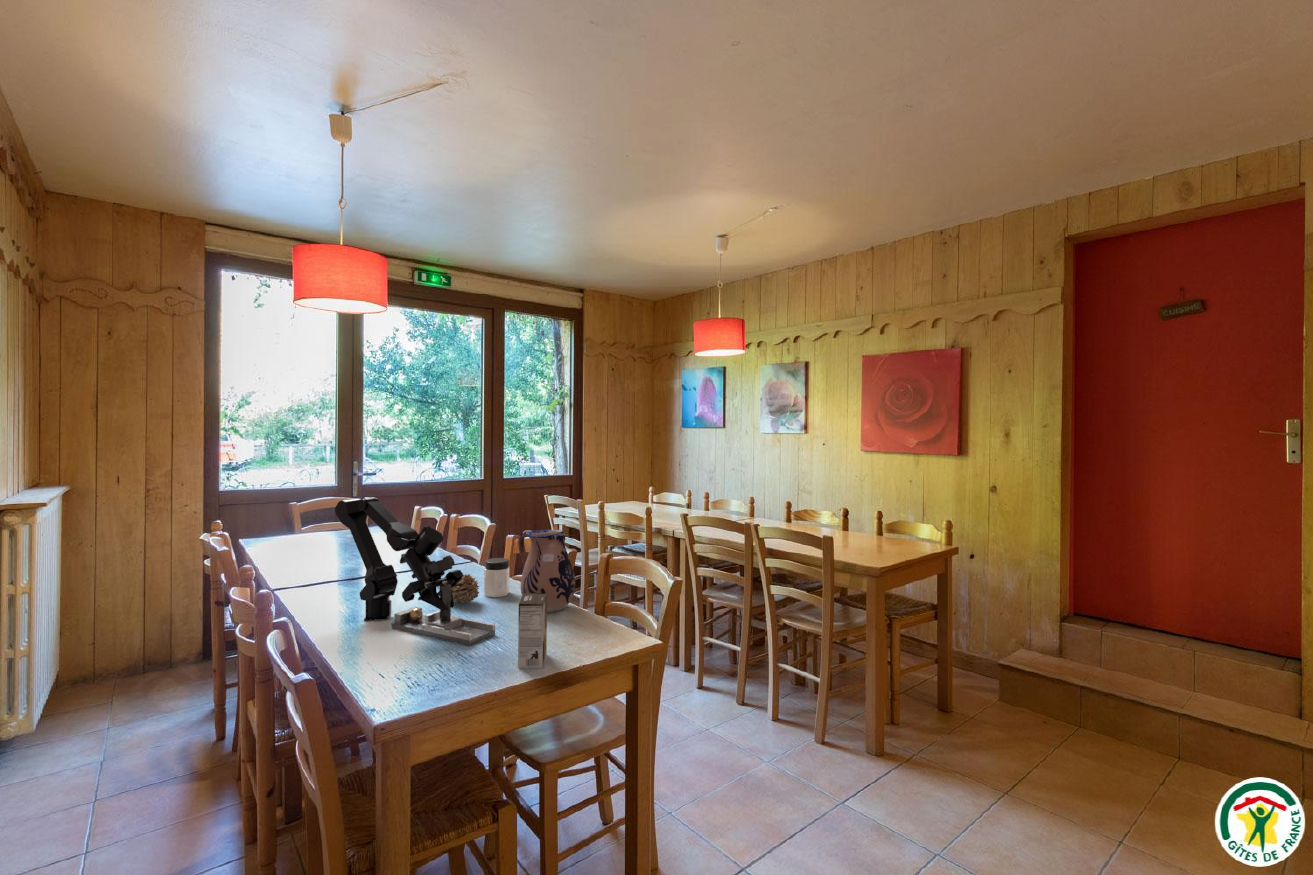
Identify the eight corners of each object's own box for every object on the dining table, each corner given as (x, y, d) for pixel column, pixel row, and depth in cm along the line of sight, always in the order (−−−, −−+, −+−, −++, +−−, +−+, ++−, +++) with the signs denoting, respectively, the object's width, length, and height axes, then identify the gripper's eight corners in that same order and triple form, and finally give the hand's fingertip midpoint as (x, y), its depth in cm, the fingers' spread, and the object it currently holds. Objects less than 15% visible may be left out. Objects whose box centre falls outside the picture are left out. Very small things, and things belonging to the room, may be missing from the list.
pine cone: (487, 604, 202) (487, 574, 202) (461, 610, 195) (461, 579, 195) (452, 592, 217) (452, 564, 217) (426, 597, 209) (426, 568, 209)
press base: (391, 628, 177) (391, 610, 177) (418, 618, 186) (418, 602, 186) (469, 646, 164) (469, 627, 164) (495, 634, 173) (495, 617, 173)
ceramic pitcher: (558, 620, 187) (559, 538, 187) (499, 612, 194) (500, 533, 194) (584, 604, 203) (585, 529, 203) (529, 597, 211) (530, 525, 210)
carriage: (424, 627, 173) (425, 585, 173) (443, 620, 180) (443, 580, 179) (443, 631, 170) (444, 589, 170) (462, 624, 176) (462, 583, 176)
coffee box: (521, 654, 158) (522, 592, 158) (547, 654, 159) (547, 592, 158) (516, 668, 149) (517, 603, 149) (543, 668, 150) (544, 602, 149)
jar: (488, 598, 209) (488, 563, 209) (480, 593, 216) (480, 559, 215) (513, 595, 214) (513, 561, 214) (505, 589, 221) (505, 556, 220)
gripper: (409, 553, 168) (438, 599, 163) (459, 542, 184) (487, 583, 180) (389, 578, 171) (417, 624, 167) (439, 565, 188) (466, 606, 183)
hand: (448, 608), depth 174 cm, fingers closed on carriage, 3 cm apart
